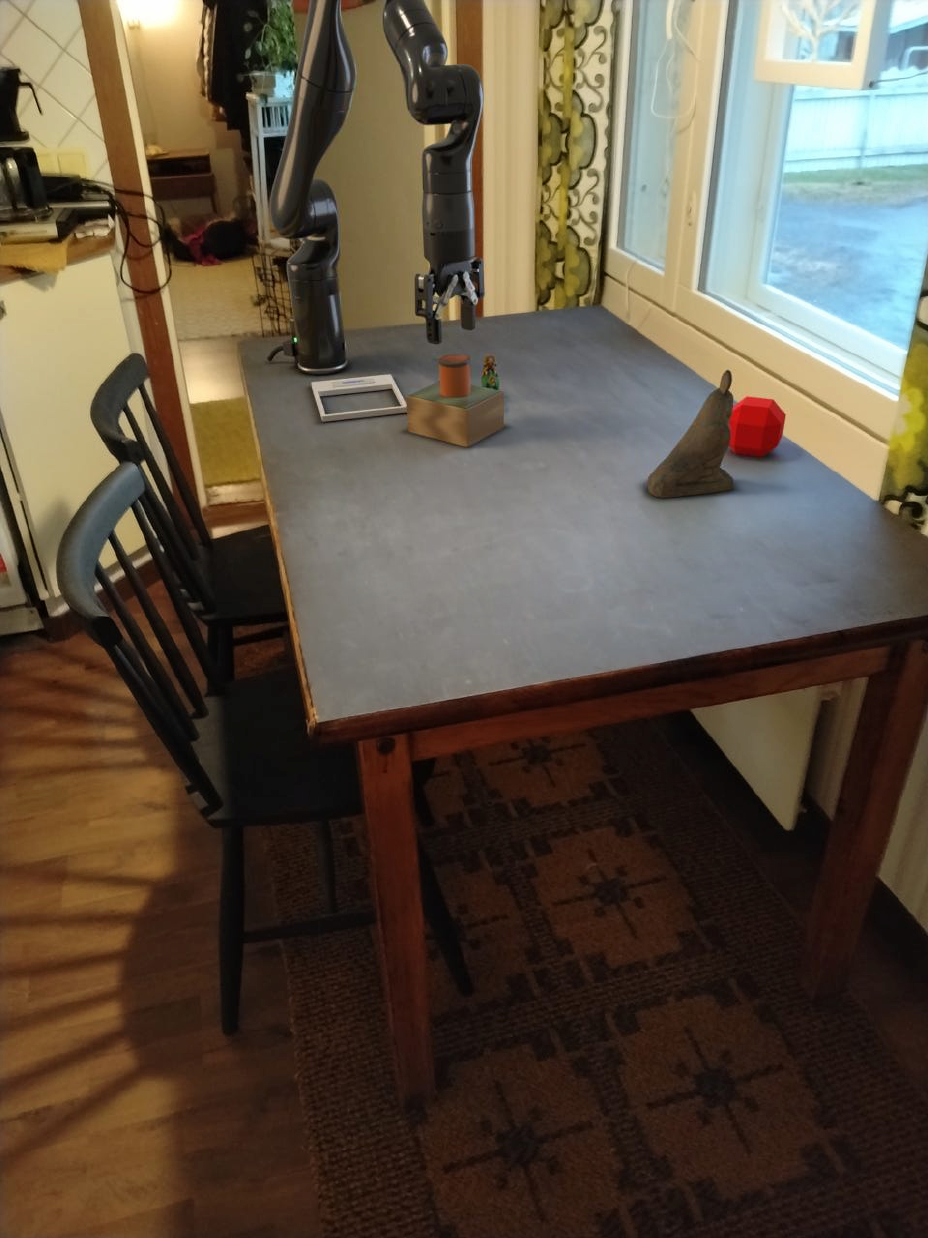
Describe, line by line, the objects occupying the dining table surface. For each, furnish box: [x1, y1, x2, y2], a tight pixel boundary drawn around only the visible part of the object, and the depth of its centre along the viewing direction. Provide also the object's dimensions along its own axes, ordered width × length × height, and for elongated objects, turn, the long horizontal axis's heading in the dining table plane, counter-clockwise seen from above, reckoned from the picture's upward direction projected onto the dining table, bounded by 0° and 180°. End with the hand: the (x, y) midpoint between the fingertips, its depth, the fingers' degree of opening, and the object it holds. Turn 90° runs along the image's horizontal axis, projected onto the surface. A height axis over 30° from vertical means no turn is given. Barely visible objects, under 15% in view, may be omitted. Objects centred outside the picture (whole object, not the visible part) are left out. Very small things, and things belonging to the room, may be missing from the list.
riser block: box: [405, 380, 505, 448], centre depth 154 cm, size 12×10×6 cm
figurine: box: [480, 354, 500, 391], centre depth 164 cm, size 3×12×8 cm, turn 5°
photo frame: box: [311, 373, 407, 422], centre depth 168 cm, size 15×1×18 cm
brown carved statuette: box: [646, 369, 735, 499], centre depth 131 cm, size 12×6×18 cm, turn 97°
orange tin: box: [438, 353, 471, 398], centre depth 151 cm, size 5×5×5 cm
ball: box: [729, 395, 787, 458], centre depth 143 cm, size 8×8×8 cm
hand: (451, 336), depth 147 cm, fingers open, 8 cm apart
